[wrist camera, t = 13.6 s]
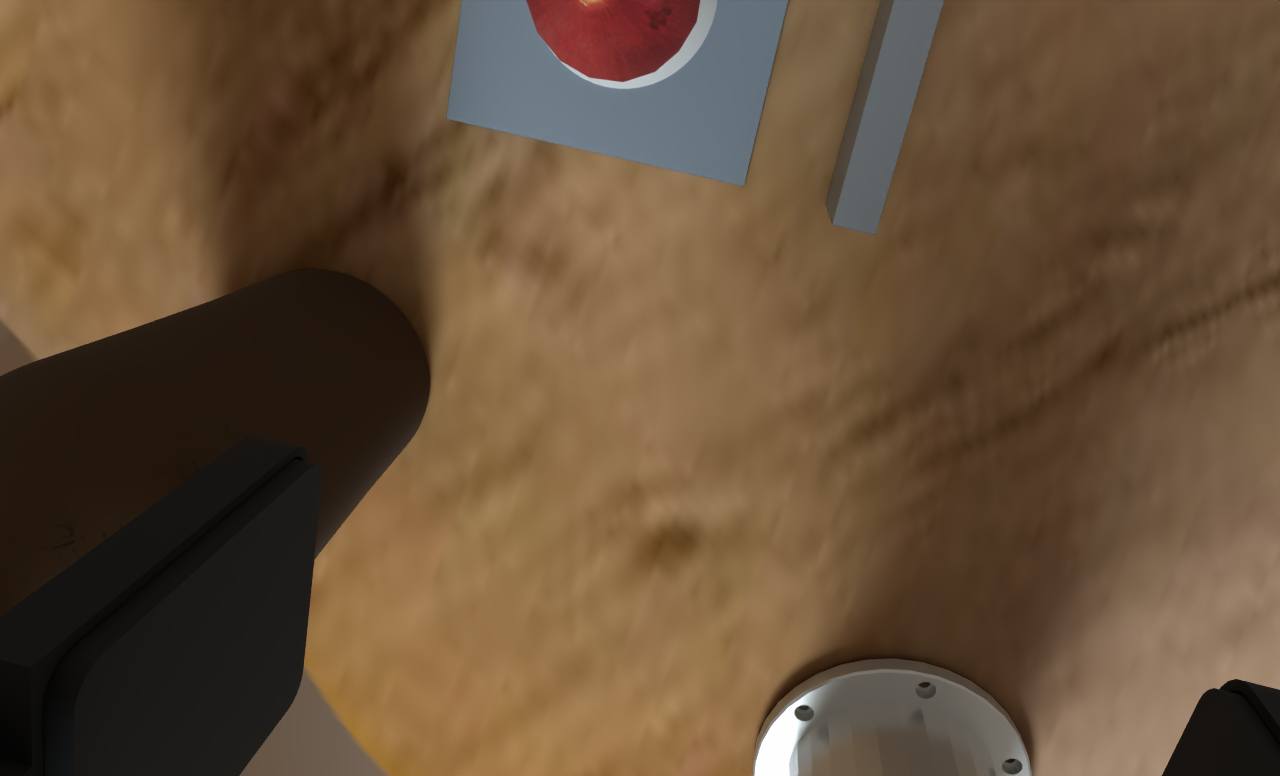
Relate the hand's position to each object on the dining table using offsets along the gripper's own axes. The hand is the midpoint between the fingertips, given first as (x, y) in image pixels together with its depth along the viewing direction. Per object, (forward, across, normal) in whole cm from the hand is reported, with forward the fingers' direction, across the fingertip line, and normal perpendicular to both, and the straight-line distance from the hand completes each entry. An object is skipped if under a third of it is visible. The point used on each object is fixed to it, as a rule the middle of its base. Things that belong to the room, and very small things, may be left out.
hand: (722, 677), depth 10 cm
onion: (+30, +7, -7) cm, 32 cm away
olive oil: (+31, +17, +11) cm, 37 cm away
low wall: (+30, -3, -7) cm, 31 cm away
